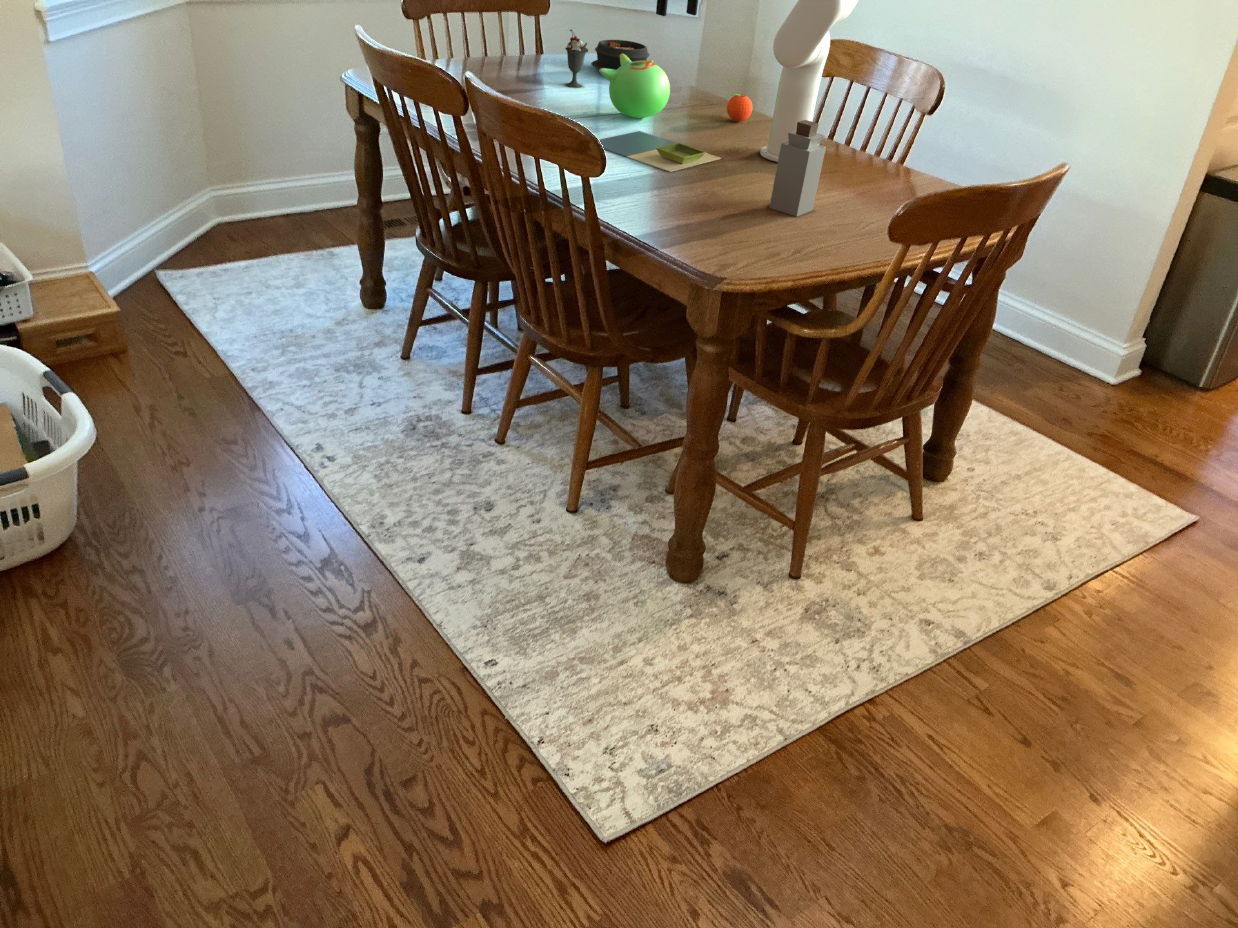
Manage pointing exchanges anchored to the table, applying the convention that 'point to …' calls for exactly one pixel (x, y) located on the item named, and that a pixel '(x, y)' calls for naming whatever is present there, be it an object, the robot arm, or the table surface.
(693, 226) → the table surface
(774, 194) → the perfume bottle
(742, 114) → the clementine
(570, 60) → the sundae
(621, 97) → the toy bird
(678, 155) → the green square dish
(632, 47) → the casserole
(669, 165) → the placemat
